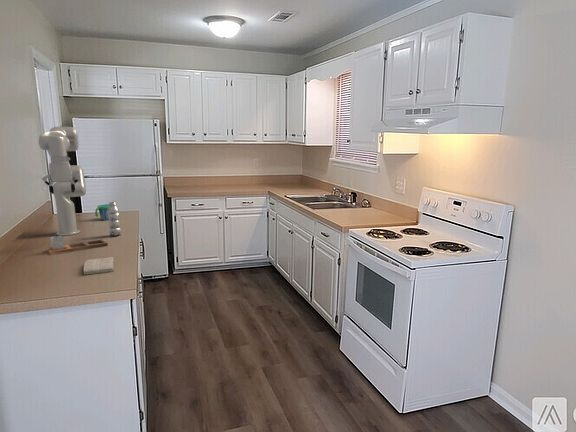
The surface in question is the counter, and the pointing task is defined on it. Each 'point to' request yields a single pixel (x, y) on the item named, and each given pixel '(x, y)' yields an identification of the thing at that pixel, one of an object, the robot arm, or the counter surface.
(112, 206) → the plastic bottle
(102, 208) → the snack cup
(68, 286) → the counter surface
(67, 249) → the rail
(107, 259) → the washcloth
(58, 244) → the steel plug
